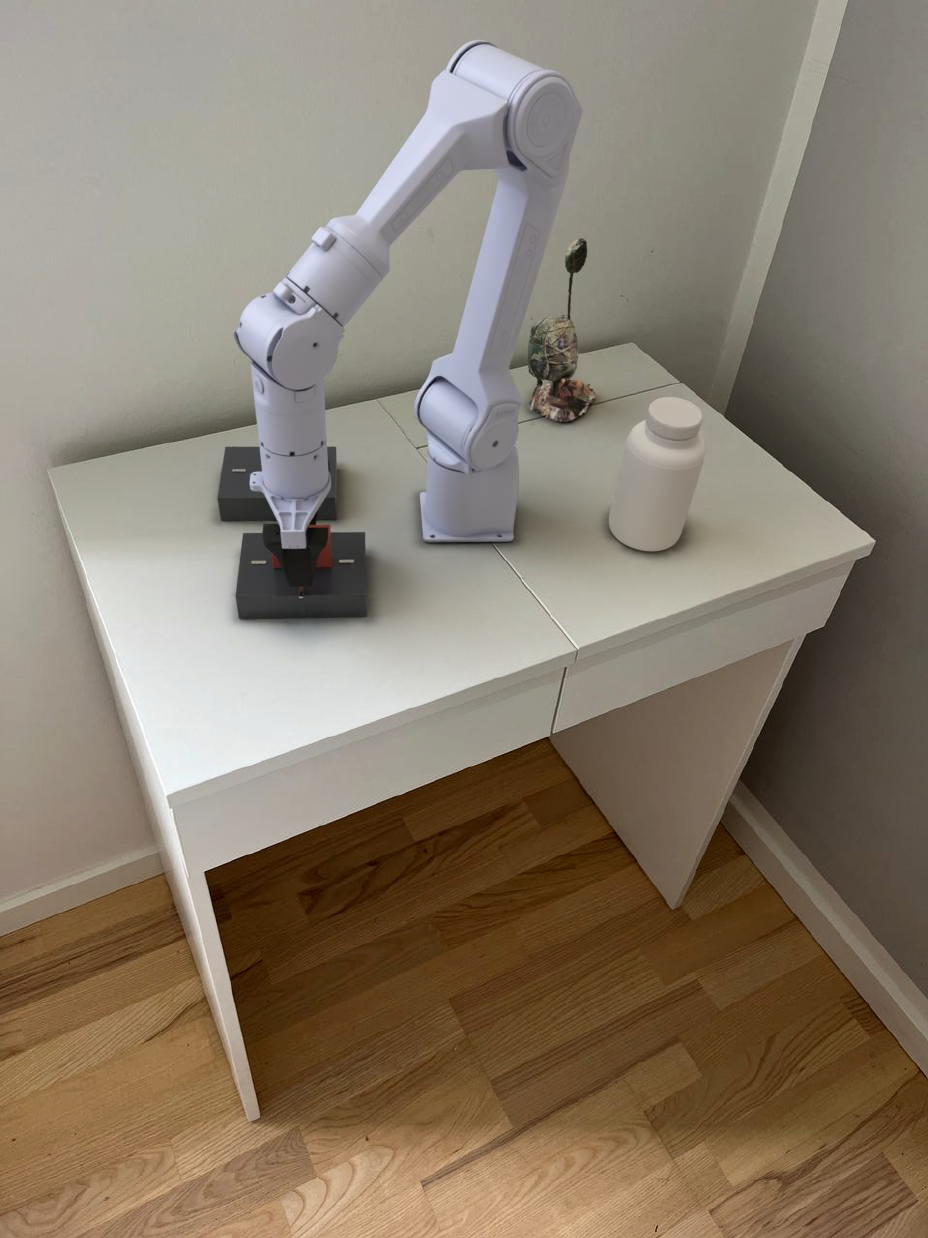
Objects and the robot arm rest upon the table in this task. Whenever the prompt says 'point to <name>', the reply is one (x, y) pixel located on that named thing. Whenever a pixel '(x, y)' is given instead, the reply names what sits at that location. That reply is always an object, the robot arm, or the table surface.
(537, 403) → the plant with pod
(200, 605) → the table surface
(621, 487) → the pill bottle
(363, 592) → the hot tap panel
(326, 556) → the block
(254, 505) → the panel
